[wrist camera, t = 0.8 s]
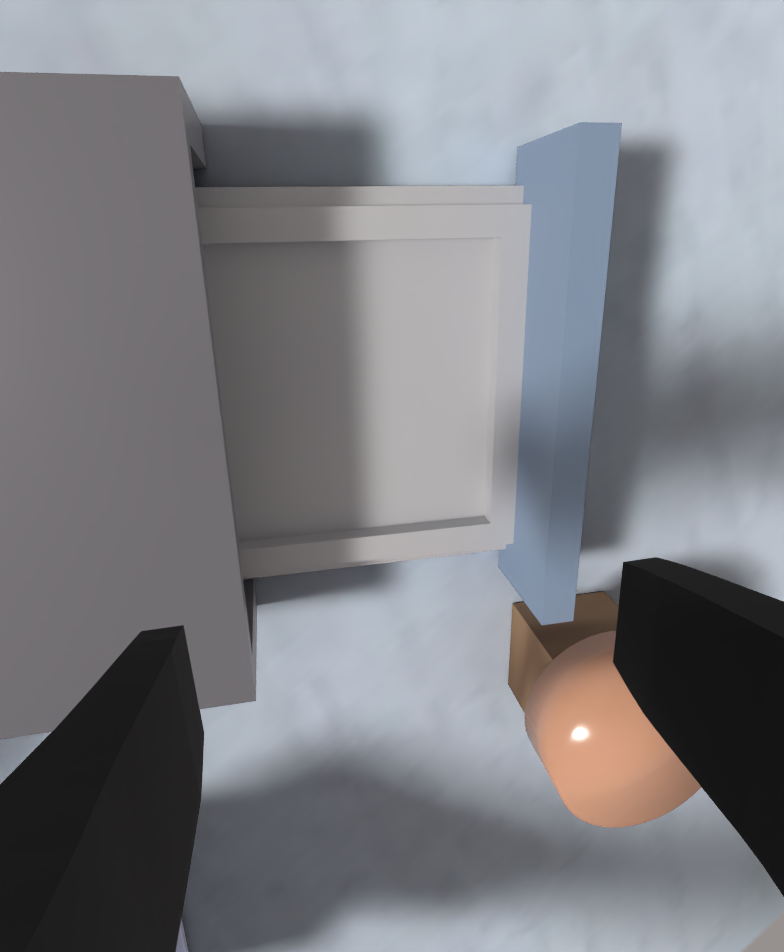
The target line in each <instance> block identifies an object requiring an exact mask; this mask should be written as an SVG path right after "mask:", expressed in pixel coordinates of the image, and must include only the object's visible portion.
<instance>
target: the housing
mask: <svg viewBox="0 0 784 952" xmlns="http://www.w3.org/2000/svg"><path fill="white" fill-rule="evenodd" d="M193 169H207V168H206V159H205V151H204V142H203V133H202V124H201V122H200V120H199V118H198V116H197V114H196V112H195V110H194V107H193V105H192V103H191V101H190V99H189V97H188V95H187V93H186V91H185V89H184V87H183V85H182V82H181V80H180V78H179V77H178V76H138V75H99V74H59V73H20V72H0V739H5V738H12V737H19V736H25V735H32V734H39V733H45V732H52V731H53V730H54V729H55V728H56V727H57V726H58V725H59V724H60V723H61V722H62V720H63V719H64V718H65V717H66V716H67V715H68V714H69V713H70V712H71V710H72V709H73V708H74V707H75V706H76V705H77V704H78V703H79V702H80V701H81V699H82V698H83V697H84V696H85V695H86V694H87V693H88V692H89V690H90V689H91V688H92V687H93V686H94V685H95V683H96V682H97V681H98V680H99V679H100V678H101V676H102V675H103V674H104V673H105V672H106V671H107V670H108V668H109V667H110V666H111V665H112V664H113V663H114V661H115V660H116V659H117V658H118V657H119V656H120V654H121V653H122V652H123V651H124V650H125V649H126V648H127V646H128V645H129V644H130V643H131V642H132V641H133V640H134V638H135V637H136V636H137V635H138V634H139V633H140V632H141V631H146V630H153V629H160V628H167V627H174V626H181V625H184V630H185V635H186V641H187V646H188V651H189V656H190V662H191V667H192V672H193V677H194V683H195V688H196V693H197V699H198V704H199V709H205V708H211V707H218V706H225V705H231V704H238V703H244V702H251V701H256V642H257V603H256V594H255V585H254V580H247V581H243V575H242V567H241V559H240V551H239V543H238V534H237V526H236V518H235V510H234V502H233V493H232V485H231V477H230V469H229V461H228V453H227V444H226V436H225V428H224V420H223V412H222V403H221V395H220V387H219V379H218V371H217V362H216V354H215V346H214V338H213V330H212V322H211V313H210V305H209V297H208V289H207V281H206V272H205V264H204V256H203V248H202V240H201V231H200V223H199V215H198V207H197V199H196V191H195V182H194V174H193Z"/></svg>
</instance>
